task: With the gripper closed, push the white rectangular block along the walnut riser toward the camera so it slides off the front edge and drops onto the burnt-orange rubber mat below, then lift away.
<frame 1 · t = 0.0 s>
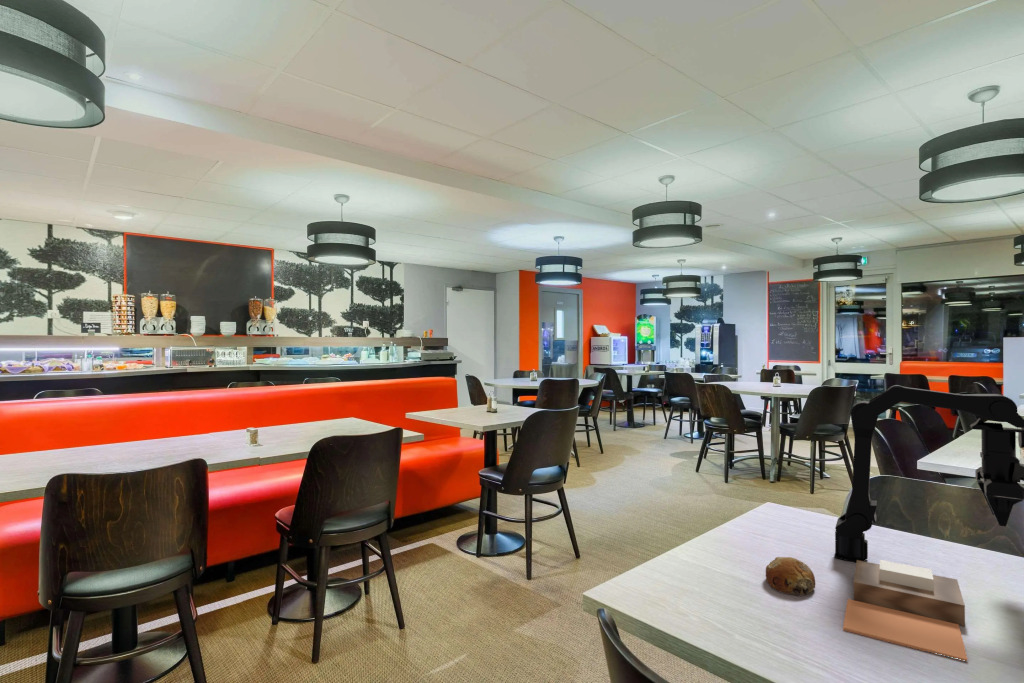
hand: (999, 520, 120), 15 cm above the table, tool pointing down, fingers open, 9 cm apart
white rectangular block: (905, 574, 113), point 5 cm above the table, touching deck
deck: (905, 599, 113), on the table
mat: (901, 628, 102), on the table
bread roll: (790, 587, 120), on the table
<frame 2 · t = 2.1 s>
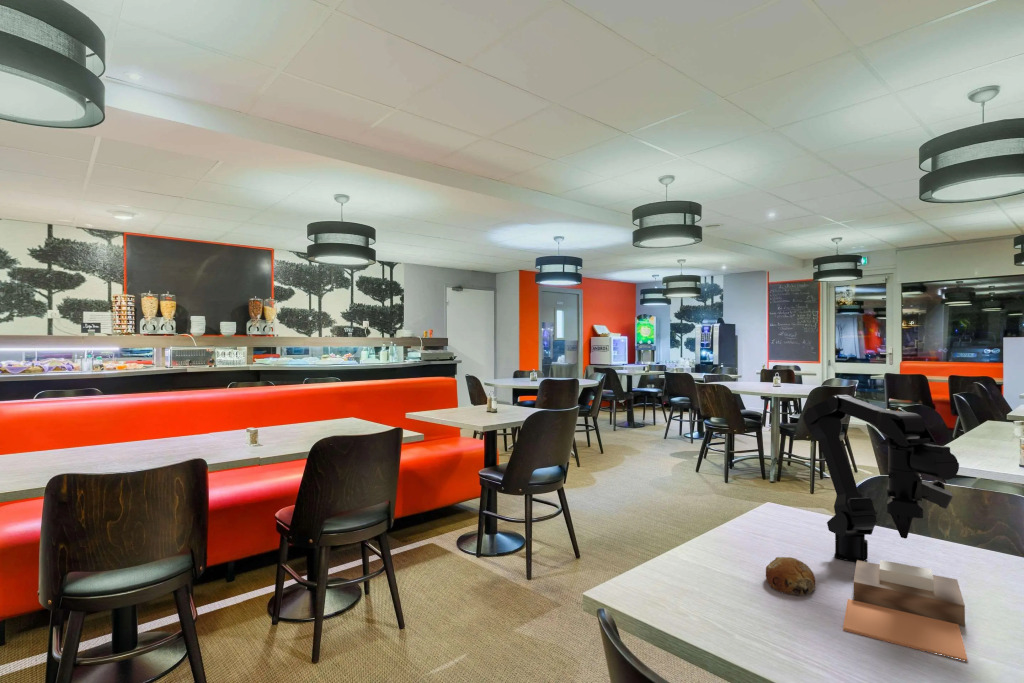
hand: (903, 537, 121), 10 cm above the table, tool pointing down, fingers closed
nothing on the table moved.
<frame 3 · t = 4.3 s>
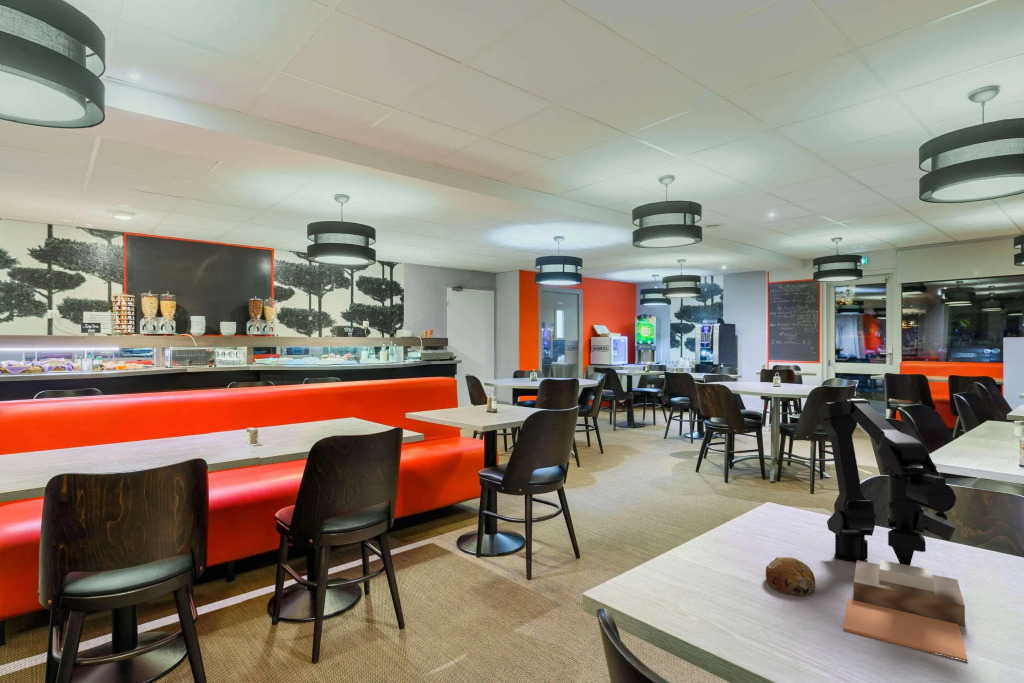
hand: (905, 569, 117), 5 cm above the table, tool pointing down, fingers closed
white rectangular block: (905, 575, 113), point 5 cm above the table, touching gripper
everything else where it was.
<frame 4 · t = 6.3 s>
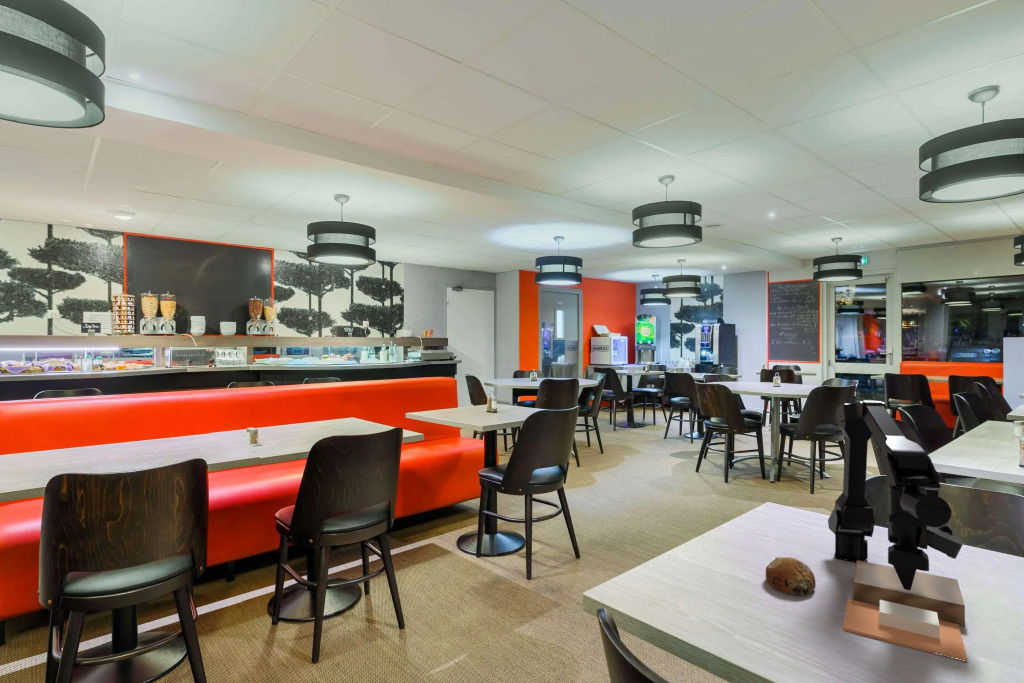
hand: (907, 589, 107), 5 cm above the table, tool pointing down, fingers closed
white rectangular block: (908, 618, 102), point 2 cm above the table, tilted 180°, touching mat
everything else where it was.
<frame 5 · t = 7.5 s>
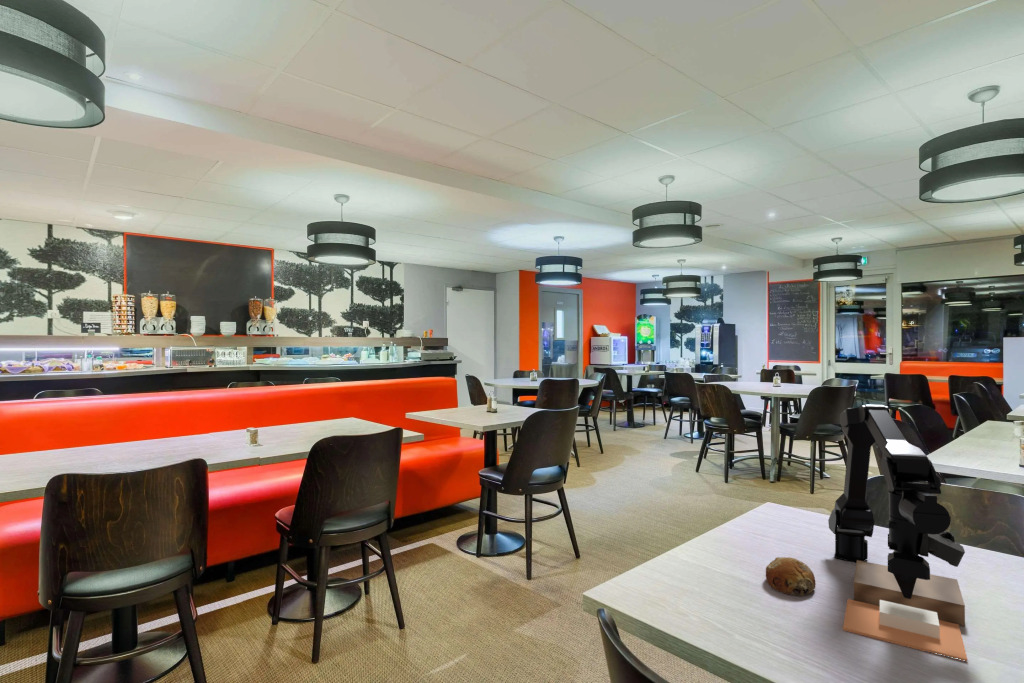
hand: (907, 597, 104), 5 cm above the table, tool pointing down, fingers closed
nothing on the table moved.
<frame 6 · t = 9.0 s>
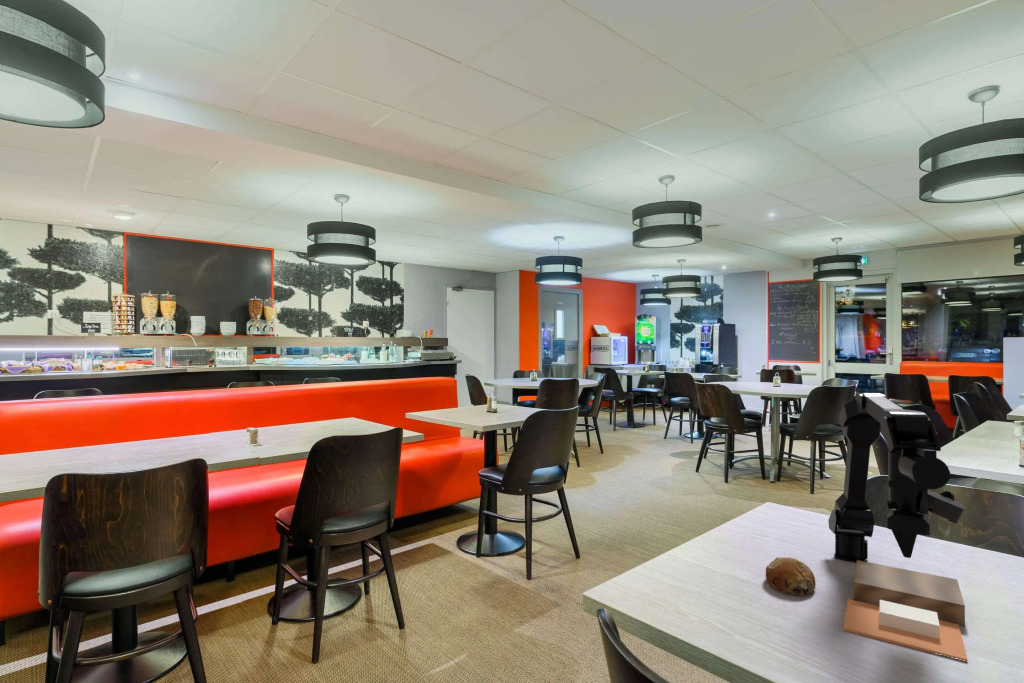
hand: (907, 557, 104), 13 cm above the table, tool pointing down, fingers closed
nothing on the table moved.
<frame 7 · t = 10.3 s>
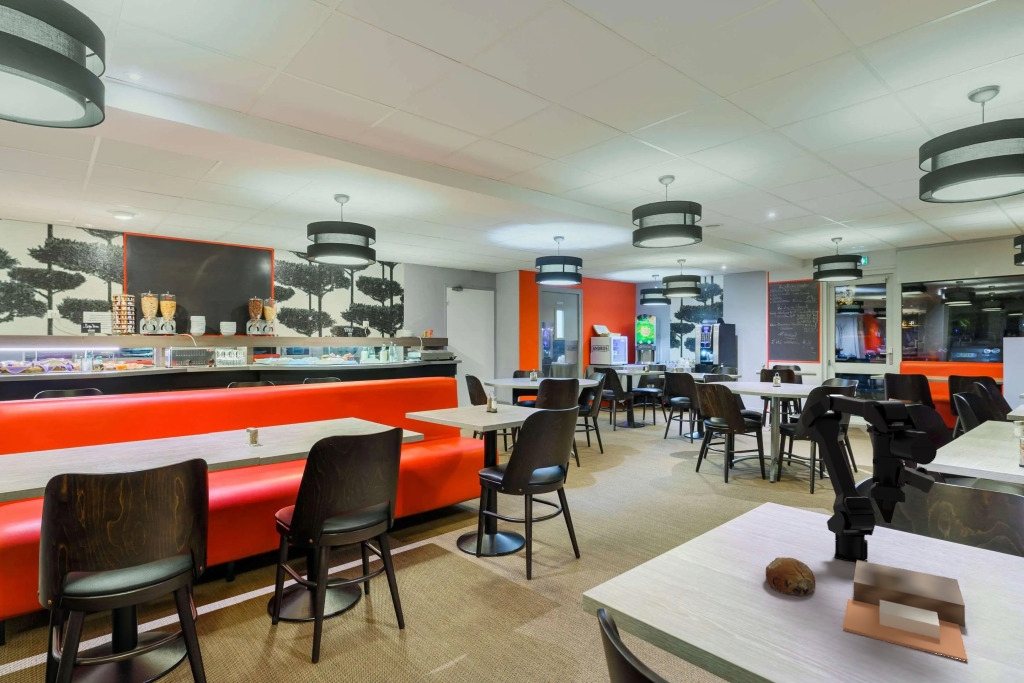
hand: (888, 522, 123), 13 cm above the table, tool pointing down, fingers closed
nothing on the table moved.
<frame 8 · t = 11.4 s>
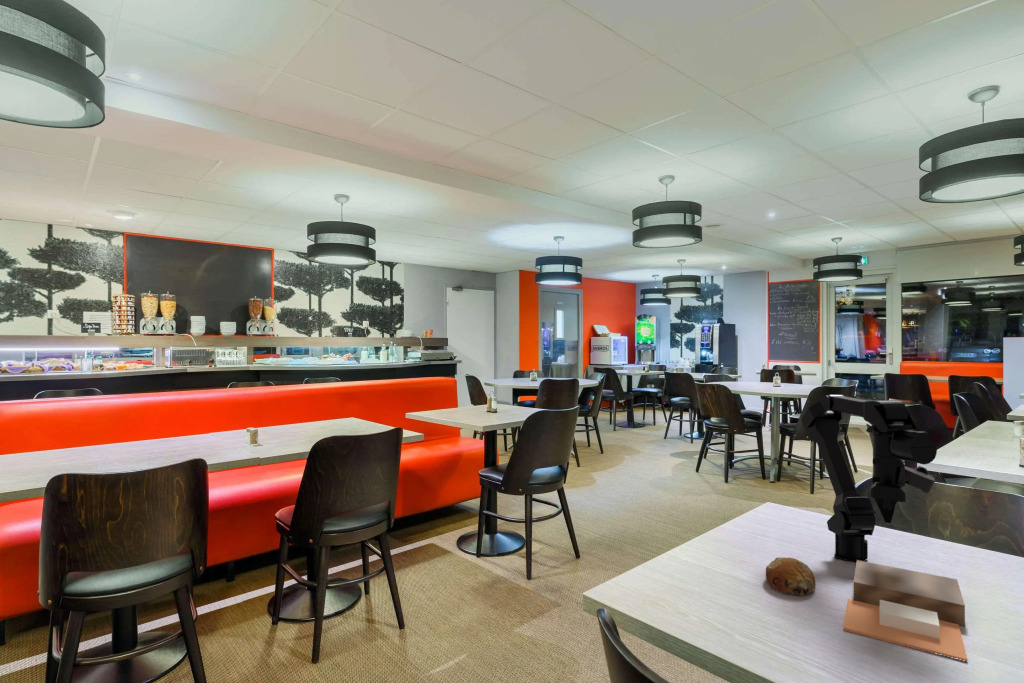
hand: (888, 522, 123), 13 cm above the table, tool pointing down, fingers closed
nothing on the table moved.
at the end: white rectangular block inside the target area (1.9 cm from its centre), point 1.7 cm above the table; white rectangular block point 1.7 cm above the table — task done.
